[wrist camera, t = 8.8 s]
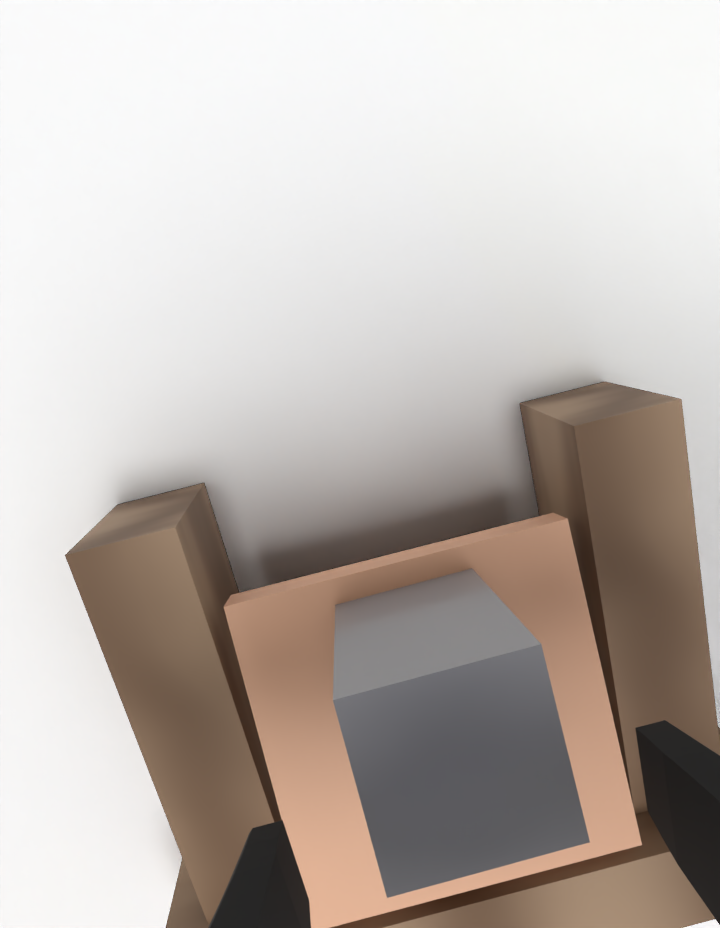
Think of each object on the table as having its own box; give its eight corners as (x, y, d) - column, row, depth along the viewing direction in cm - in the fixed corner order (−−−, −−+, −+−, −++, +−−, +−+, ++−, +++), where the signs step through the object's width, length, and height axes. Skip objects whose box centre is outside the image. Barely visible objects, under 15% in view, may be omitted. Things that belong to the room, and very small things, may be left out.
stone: (472, 568, 17) (540, 643, 11) (505, 700, 18) (590, 842, 12) (335, 604, 17) (332, 700, 11) (371, 736, 18) (386, 898, 12)
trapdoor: (553, 512, 19) (567, 518, 17) (623, 818, 19) (642, 844, 18) (231, 594, 18) (223, 606, 17) (314, 900, 19) (312, 932, 18)
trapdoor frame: (647, 370, 21) (775, 392, 15) (694, 758, 25) (811, 893, 19) (73, 515, 21) (-20, 594, 15) (213, 884, 25) (182, 1061, 19)
